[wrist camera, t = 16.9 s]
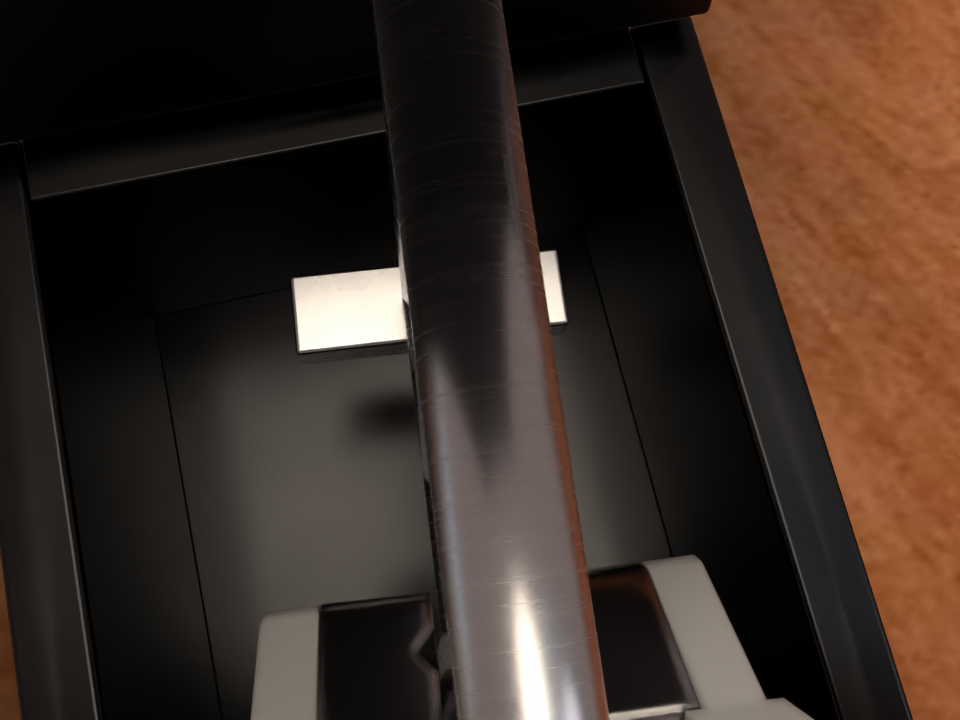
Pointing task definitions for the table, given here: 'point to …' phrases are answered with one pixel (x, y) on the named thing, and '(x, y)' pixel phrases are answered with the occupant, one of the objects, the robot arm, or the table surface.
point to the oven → (390, 387)
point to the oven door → (224, 51)
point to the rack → (473, 367)
